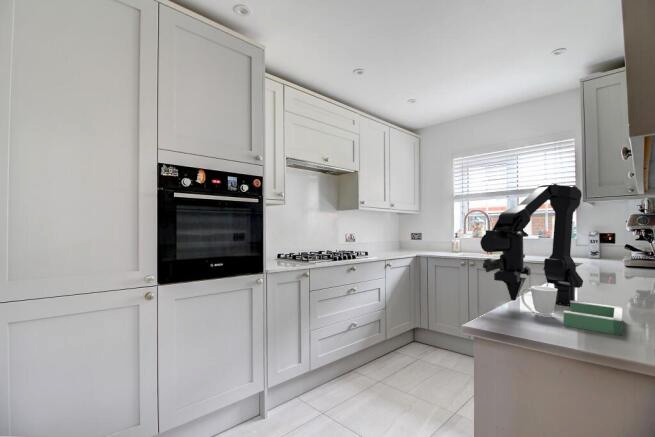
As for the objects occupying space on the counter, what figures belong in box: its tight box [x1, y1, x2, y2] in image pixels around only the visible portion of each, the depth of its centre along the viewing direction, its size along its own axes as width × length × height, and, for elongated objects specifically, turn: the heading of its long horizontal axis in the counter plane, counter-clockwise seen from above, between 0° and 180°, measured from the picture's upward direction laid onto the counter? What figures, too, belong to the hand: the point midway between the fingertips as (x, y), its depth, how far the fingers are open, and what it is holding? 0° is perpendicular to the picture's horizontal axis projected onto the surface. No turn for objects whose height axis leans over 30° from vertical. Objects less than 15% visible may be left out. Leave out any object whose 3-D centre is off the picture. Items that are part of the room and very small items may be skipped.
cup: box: [520, 285, 558, 318], centre depth 97 cm, size 7×10×8 cm
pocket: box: [563, 300, 623, 336], centre depth 88 cm, size 16×12×4 cm
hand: (513, 300), depth 101 cm, fingers closed
